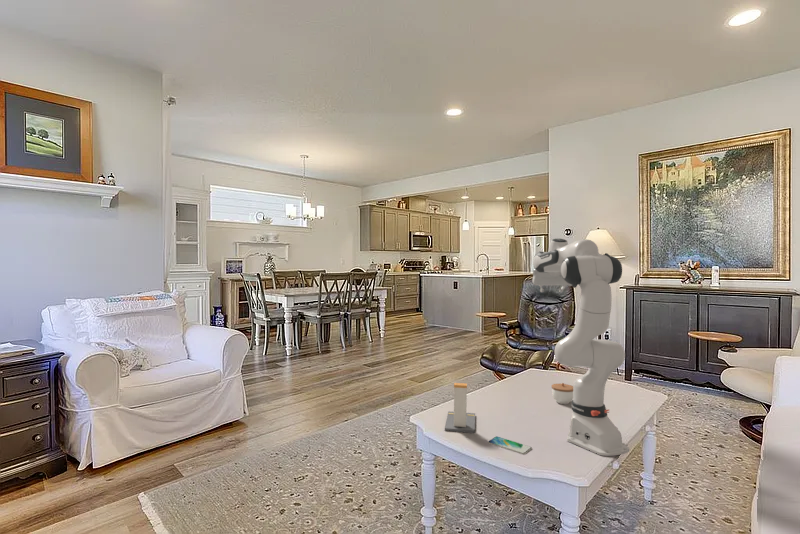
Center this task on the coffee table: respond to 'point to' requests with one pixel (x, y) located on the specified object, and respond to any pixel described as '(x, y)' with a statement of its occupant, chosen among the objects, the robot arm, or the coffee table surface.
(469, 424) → the board
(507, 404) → the coffee table surface
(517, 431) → the coffee table surface
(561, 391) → the lidded jar
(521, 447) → the smartphone
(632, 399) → the coffee table surface
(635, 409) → the coffee table surface
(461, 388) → the fader tab
